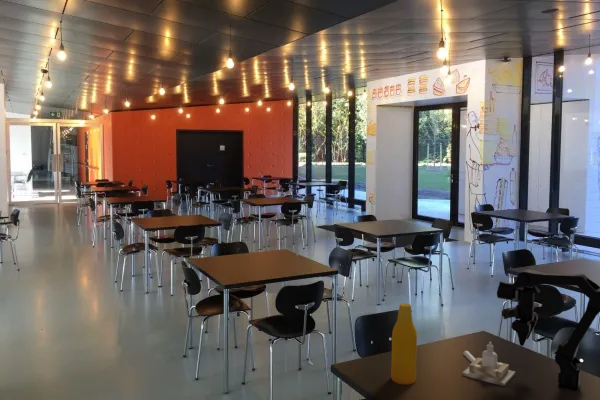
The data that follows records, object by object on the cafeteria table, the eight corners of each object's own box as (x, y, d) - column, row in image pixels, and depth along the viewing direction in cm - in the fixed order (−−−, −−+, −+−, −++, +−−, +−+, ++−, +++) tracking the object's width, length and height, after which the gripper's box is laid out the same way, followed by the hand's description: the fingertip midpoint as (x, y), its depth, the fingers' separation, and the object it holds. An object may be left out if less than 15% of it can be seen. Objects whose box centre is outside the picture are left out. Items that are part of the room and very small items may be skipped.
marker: (463, 354, 230) (478, 369, 214) (459, 352, 230) (474, 366, 214) (467, 349, 230) (482, 363, 214) (463, 347, 230) (477, 361, 214)
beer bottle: (386, 376, 204) (388, 302, 201) (407, 373, 207) (409, 300, 204) (399, 386, 195) (401, 309, 193) (420, 383, 198) (422, 306, 196)
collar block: (515, 374, 207) (515, 364, 207) (504, 386, 196) (505, 375, 196) (474, 364, 217) (474, 354, 216) (462, 375, 206) (462, 365, 205)
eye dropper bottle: (487, 375, 203) (488, 344, 202) (480, 369, 209) (481, 339, 208) (498, 374, 204) (499, 344, 203) (490, 369, 209) (491, 339, 208)
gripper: (509, 294, 217) (508, 331, 218) (498, 304, 201) (496, 345, 202) (538, 298, 210) (537, 337, 212) (529, 309, 195) (527, 351, 196)
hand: (524, 342), depth 206 cm, fingers open, 9 cm apart
